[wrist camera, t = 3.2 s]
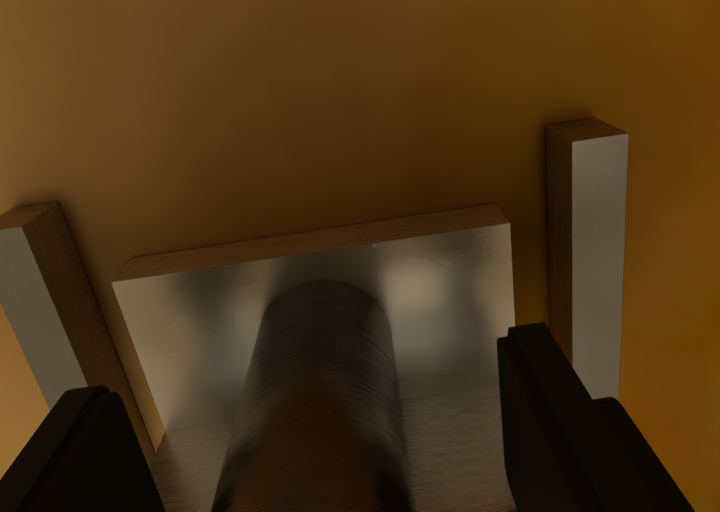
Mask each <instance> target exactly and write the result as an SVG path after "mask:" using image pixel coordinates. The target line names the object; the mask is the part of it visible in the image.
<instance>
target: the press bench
mask: <svg viewBox="0 0 720 512" xmlns="http://www.w3.org/2000/svg"><path fill="white" fill-rule="evenodd" d="M545 127H546V176H547V225H548V274H549V323H550V332H551V333H552V335H553V337H554V338H555V340H556V341H557V343H558V345H559V346H560V348H561V349H562V351H563V353H564V354H565V356H566V357H567V359H568V361H569V362H570V364H571V365H572V367H573V369H574V370H575V372H576V374H577V375H578V377H579V378H580V380H581V382H582V383H583V385H584V386H585V388H586V390H587V391H588V393H589V394H590V396H591V398H592V399H598V398H606V397H613V398H615V399H617V400H618V397H619V370H620V344H621V318H622V292H623V265H624V239H625V213H626V187H627V160H628V134H629V133H627V132H624V131H622V130H620V129H618V128H616V127H614V126H611V125H609V124H607V123H605V122H603V121H601V120H598V119H596V118H592V119H585V120H579V121H572V122H566V123H560V124H553V125H547V126H545ZM0 302H1V304H2V306H3V308H4V311H5V313H6V315H7V317H8V319H9V321H10V324H11V326H12V328H13V330H14V332H15V334H16V337H17V339H18V341H19V343H20V345H21V348H22V350H23V352H24V354H25V356H26V358H27V361H28V363H29V365H30V367H31V369H32V371H33V374H34V376H35V378H36V380H37V382H38V385H39V387H40V389H41V391H42V393H43V395H44V398H45V400H46V402H47V404H48V406H49V408H50V411H51V409H52V408H53V407H54V405H55V404H56V403H57V401H58V400H59V398H60V397H61V396H62V394H63V393H64V392H65V391H67V390H70V389H75V388H82V387H89V386H96V385H104V386H106V387H107V388H108V389H109V390H110V392H117V393H118V394H119V395H120V396H121V398H122V401H123V403H124V406H125V408H126V411H127V413H128V416H129V418H130V421H131V424H132V426H133V429H134V431H135V434H136V436H137V439H138V441H139V444H140V446H141V449H142V452H143V454H144V457H145V459H146V462H147V464H148V467H149V468H150V466H151V463H152V461H153V459H154V456H155V453H154V450H153V447H152V445H151V442H150V440H149V437H148V434H147V432H146V429H145V426H144V424H143V421H142V419H141V416H140V413H139V411H138V408H137V406H136V403H135V400H134V398H133V395H132V392H131V390H130V387H129V385H128V382H127V379H126V377H125V374H124V372H123V369H122V366H121V364H120V361H119V359H118V356H117V353H116V351H115V348H114V345H113V343H112V340H111V338H110V335H109V332H108V330H107V327H106V325H105V322H104V319H103V317H102V314H101V311H100V309H99V306H98V304H97V301H96V298H95V296H94V293H93V291H92V288H91V285H90V283H89V280H88V278H87V275H86V272H85V270H84V267H83V264H82V262H81V259H80V257H79V254H78V251H77V249H76V246H75V244H74V241H73V238H72V236H71V233H70V230H69V228H68V225H67V223H66V220H65V217H64V215H63V212H62V210H61V207H60V204H59V202H58V201H57V202H50V203H44V204H37V205H31V206H24V207H18V208H12V209H10V210H9V211H7V212H6V213H4V214H2V215H1V216H0Z"/></svg>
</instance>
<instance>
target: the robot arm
mask: <svg viewBox="0 0 720 512" xmlns="http://www.w3.org/2000/svg"><path fill="white" fill-rule="evenodd" d="M497 357H498V373H499V388H500V404H501V419H502V435H503V450H504V464H505V471H506V476H507V480H508V484H509V487H510V490H511V493H512V496H513V499H514V502H515V505H516V508H517V511H518V512H695V511H694V509H693V508H692V506H691V505H690V504H689V502H688V501H687V499H686V498H685V496H684V495H683V493H682V492H681V491H680V489H679V488H678V486H677V485H676V483H675V482H674V480H673V479H672V477H671V476H670V475H669V473H668V472H667V470H666V469H665V467H664V466H663V464H662V463H661V461H660V460H659V459H658V457H657V456H656V454H655V453H654V451H653V450H652V448H651V447H650V445H649V444H648V443H647V441H646V440H645V438H644V437H643V435H642V434H641V432H640V431H639V429H638V428H637V427H636V425H635V424H634V422H633V421H632V419H631V418H630V416H629V415H628V413H627V412H626V411H625V409H624V408H623V406H622V405H621V404H620V403H619V402H618V400H617V399H615V398H613V397H606V398H598V399H592V398H591V396H590V394H589V393H588V391H587V390H586V388H585V386H584V385H583V383H582V382H581V380H580V378H579V377H578V375H577V374H576V372H575V370H574V369H573V367H572V365H571V364H570V362H569V361H568V359H567V357H566V356H565V354H564V353H563V351H562V349H561V348H560V346H559V345H558V343H557V341H556V340H555V338H554V337H553V335H552V333H551V332H550V330H549V329H548V327H547V326H546V324H545V323H542V322H541V323H534V324H527V325H520V326H513V327H509V328H508V333H507V336H506V337H499V338H497ZM0 512H165V508H164V505H163V502H162V500H161V497H160V495H159V492H158V490H157V487H156V485H155V482H154V480H153V477H152V474H151V472H150V469H149V467H148V464H147V462H146V459H145V457H144V454H143V452H142V449H141V446H140V444H139V441H138V439H137V436H136V434H135V431H134V429H133V426H132V424H131V421H130V418H129V416H128V413H127V411H126V408H125V406H124V403H123V401H122V398H121V396H120V395H119V394H118V393H117V392H110V390H109V389H108V388H107V387H106V386H104V385H96V386H89V387H82V388H75V389H70V390H67V391H65V392H64V393H63V394H62V396H61V397H60V398H59V400H58V401H57V403H56V404H55V405H54V407H53V408H52V409H51V411H50V412H49V414H48V415H47V416H46V418H45V419H44V421H43V422H42V423H41V425H40V426H39V427H38V429H37V430H36V432H35V433H34V434H33V436H32V437H31V438H30V440H29V441H28V443H27V444H26V445H25V447H24V448H23V449H22V451H21V452H20V454H19V455H18V456H17V458H16V459H15V461H14V462H13V463H12V465H11V466H10V467H9V469H8V470H7V472H6V473H5V474H4V476H3V477H2V478H1V480H0Z"/></svg>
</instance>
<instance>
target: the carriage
mask: <svg viewBox="0 0 720 512" xmlns="http://www.w3.org/2000/svg"><path fill="white" fill-rule="evenodd" d="M111 284H112V286H113V289H114V292H115V295H116V297H117V300H118V303H119V306H120V308H121V311H122V314H123V317H124V319H125V322H126V325H127V327H128V330H129V333H130V336H131V338H132V341H133V344H134V347H135V349H136V352H137V355H138V358H139V360H140V363H141V366H142V368H143V371H144V374H145V377H146V379H147V382H148V385H149V388H150V390H151V393H152V396H153V399H154V401H155V404H156V407H157V410H158V412H159V415H160V418H161V420H162V423H163V426H164V429H165V433H164V435H163V437H162V440H161V442H160V444H159V447H158V449H157V452H156V454H155V456H154V459H153V461H152V463H151V466H150V468H149V469H150V472H151V474H152V477H153V480H154V482H155V485H156V487H157V490H158V492H159V495H160V497H161V500H162V502H163V505H164V508H165V512H518V511H517V508H516V505H515V502H514V499H513V496H512V493H511V490H510V487H509V484H508V480H507V476H506V471H505V464H504V450H503V435H502V419H501V404H500V388H499V373H498V357H497V338H499V337H506V336H507V333H508V328H509V327H513V326H515V314H514V293H513V273H512V252H511V232H510V222H509V221H508V220H507V218H506V217H505V216H504V214H503V213H502V212H501V210H500V209H499V208H498V206H497V205H496V204H488V205H482V206H475V207H468V208H462V209H455V210H448V211H442V212H435V213H428V214H422V215H415V216H408V217H402V218H395V219H389V220H382V221H375V222H369V223H362V224H355V225H349V226H342V227H335V228H329V229H322V230H315V231H309V232H302V233H295V234H289V235H282V236H275V237H269V238H262V239H255V240H249V241H242V242H235V243H229V244H222V245H215V246H209V247H202V248H195V249H189V250H182V251H176V252H169V253H162V254H156V255H149V256H142V257H136V258H131V259H130V260H129V262H128V263H127V264H126V265H125V266H124V268H123V269H122V270H121V271H120V272H119V274H118V275H117V276H116V277H115V278H114V280H113V281H112V282H111Z"/></svg>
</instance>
